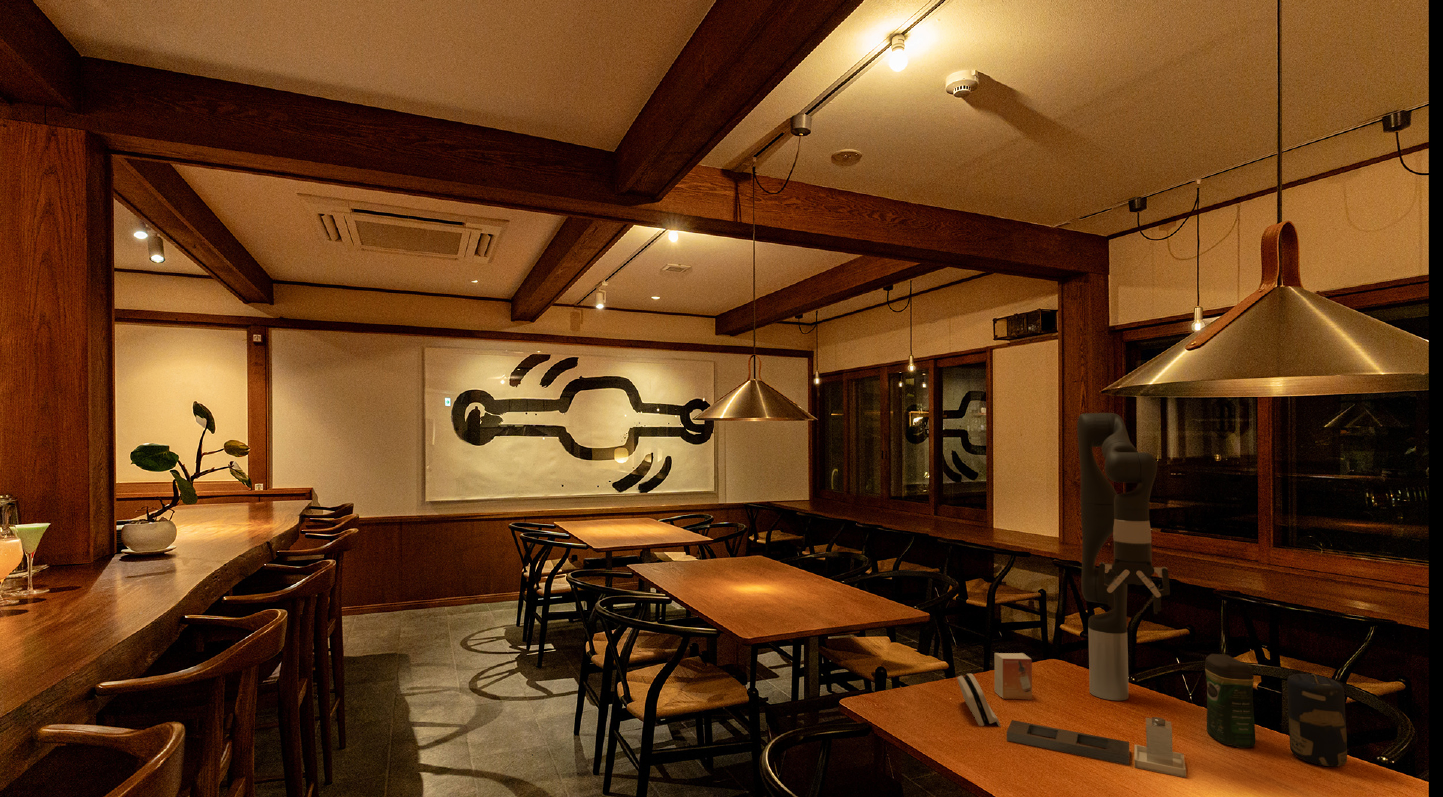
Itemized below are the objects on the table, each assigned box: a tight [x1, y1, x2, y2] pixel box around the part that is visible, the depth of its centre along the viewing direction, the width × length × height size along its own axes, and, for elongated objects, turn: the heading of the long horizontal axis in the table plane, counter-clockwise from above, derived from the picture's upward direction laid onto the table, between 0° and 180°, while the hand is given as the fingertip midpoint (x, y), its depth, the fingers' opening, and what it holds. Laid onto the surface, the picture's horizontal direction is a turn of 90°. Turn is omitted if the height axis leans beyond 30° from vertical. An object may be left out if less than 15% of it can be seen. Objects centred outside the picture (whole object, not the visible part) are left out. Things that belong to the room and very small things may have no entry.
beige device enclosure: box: [956, 673, 1002, 728], centre depth 179 cm, size 17×5×10 cm, turn 173°
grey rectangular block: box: [1145, 716, 1174, 767], centre depth 152 cm, size 5×5×9 cm
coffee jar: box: [1204, 653, 1257, 749], centre depth 165 cm, size 10×8×19 cm
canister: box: [1286, 673, 1348, 767], centre depth 155 cm, size 10×10×18 cm
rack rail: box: [1006, 719, 1130, 766], centre depth 160 cm, size 8×24×2 cm, turn 60°
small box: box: [994, 652, 1033, 700], centre depth 192 cm, size 8×6×10 cm
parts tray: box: [1134, 744, 1187, 779], centre depth 152 cm, size 9×9×2 cm
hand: (1133, 610), depth 165 cm, fingers open, 8 cm apart
